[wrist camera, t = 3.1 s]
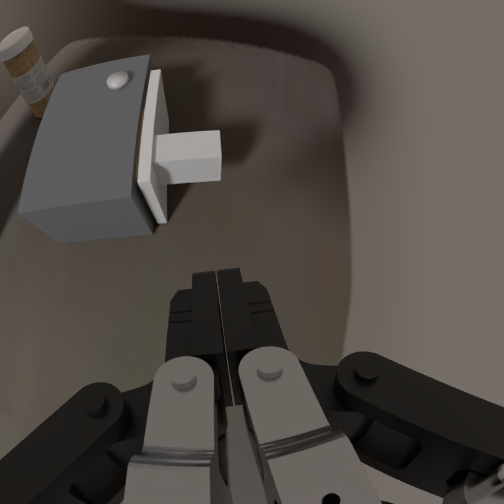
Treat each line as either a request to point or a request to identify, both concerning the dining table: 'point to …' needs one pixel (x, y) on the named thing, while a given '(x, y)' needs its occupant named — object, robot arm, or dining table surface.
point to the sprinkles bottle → (27, 69)
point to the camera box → (90, 155)
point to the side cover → (172, 152)
